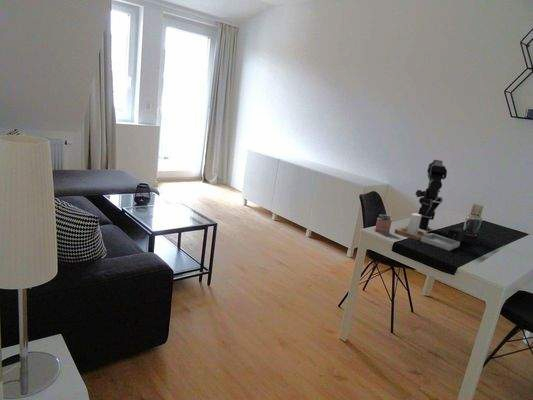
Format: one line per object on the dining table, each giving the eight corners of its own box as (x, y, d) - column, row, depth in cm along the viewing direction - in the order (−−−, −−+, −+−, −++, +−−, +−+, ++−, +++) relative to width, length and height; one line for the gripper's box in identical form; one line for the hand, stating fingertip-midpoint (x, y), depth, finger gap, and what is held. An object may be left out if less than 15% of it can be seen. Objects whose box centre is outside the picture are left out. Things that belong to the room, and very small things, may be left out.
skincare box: (409, 232, 212) (414, 212, 210) (417, 235, 210) (422, 214, 207) (405, 234, 208) (410, 213, 205) (413, 237, 205) (418, 216, 202)
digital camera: (453, 238, 214) (456, 226, 212) (462, 241, 210) (466, 229, 209) (445, 240, 207) (448, 228, 205) (455, 243, 203) (458, 231, 202)
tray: (431, 237, 208) (432, 233, 208) (458, 246, 198) (460, 242, 198) (420, 241, 198) (421, 236, 197) (449, 251, 188) (450, 246, 187)
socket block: (405, 229, 218) (406, 226, 218) (428, 237, 209) (429, 233, 208) (394, 232, 208) (395, 229, 208) (418, 240, 199) (419, 237, 198)
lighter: (388, 232, 207) (392, 215, 205) (389, 234, 204) (393, 216, 202) (374, 230, 208) (377, 213, 206) (375, 231, 205) (378, 214, 202)
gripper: (426, 183, 218) (420, 209, 221) (412, 185, 205) (406, 212, 208) (445, 188, 211) (439, 214, 214) (433, 189, 197) (426, 217, 201)
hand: (427, 214), depth 209 cm, fingers open, 9 cm apart
